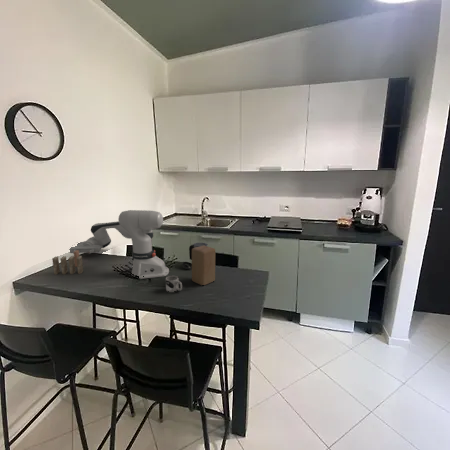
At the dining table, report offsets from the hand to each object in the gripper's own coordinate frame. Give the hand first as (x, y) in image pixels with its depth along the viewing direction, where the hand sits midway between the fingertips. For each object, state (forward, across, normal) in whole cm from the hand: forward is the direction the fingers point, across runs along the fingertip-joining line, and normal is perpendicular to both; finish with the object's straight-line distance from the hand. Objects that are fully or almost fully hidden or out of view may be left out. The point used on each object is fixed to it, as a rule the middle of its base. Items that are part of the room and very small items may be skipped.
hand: (81, 252), depth 190 cm
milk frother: (+18, -76, -6) cm, 79 cm away
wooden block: (+42, -80, -6) cm, 91 cm away
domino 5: (+22, -6, -6) cm, 23 cm away
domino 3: (+22, -2, -6) cm, 23 cm away
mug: (+52, -64, -6) cm, 83 cm away
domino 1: (+22, +7, -6) cm, 24 cm away
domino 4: (+10, 0, -6) cm, 11 cm away
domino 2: (+22, +3, -6) cm, 23 cm away
